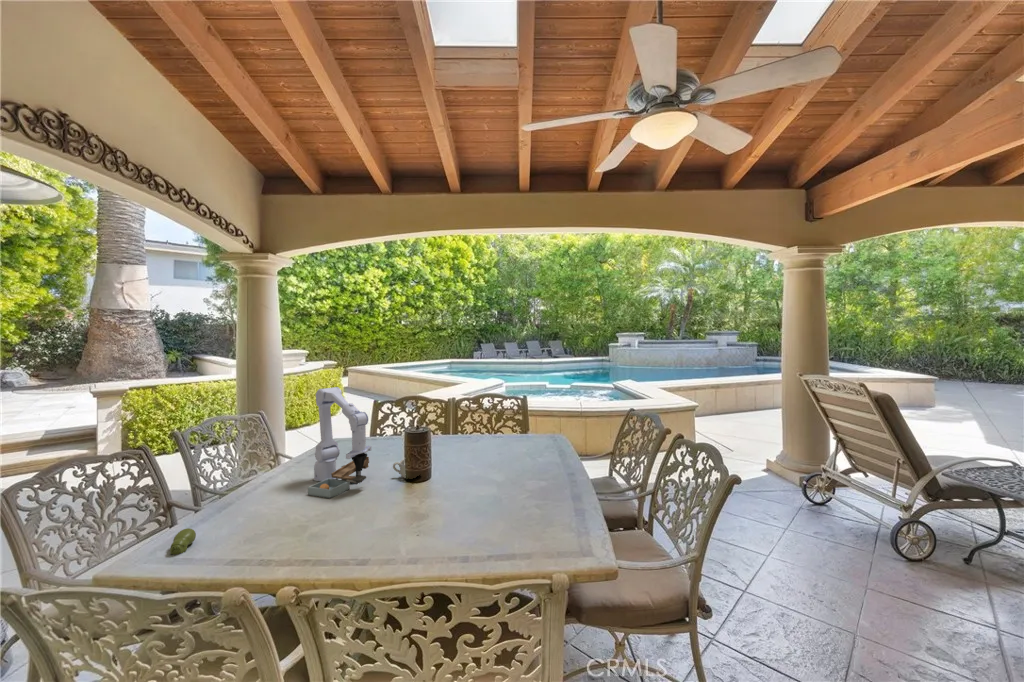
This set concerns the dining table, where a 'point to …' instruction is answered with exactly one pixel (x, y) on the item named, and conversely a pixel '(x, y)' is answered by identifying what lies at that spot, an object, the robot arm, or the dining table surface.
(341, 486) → the tray
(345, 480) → the stand
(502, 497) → the dining table surface
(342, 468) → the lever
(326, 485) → the ball
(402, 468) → the teacup
